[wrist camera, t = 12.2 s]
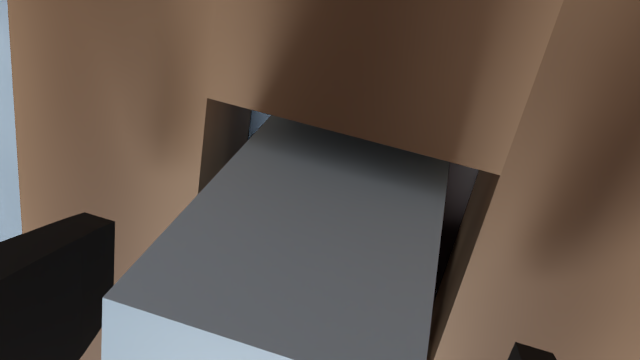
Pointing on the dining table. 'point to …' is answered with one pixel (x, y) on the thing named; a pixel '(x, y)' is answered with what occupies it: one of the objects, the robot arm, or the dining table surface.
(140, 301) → the peg
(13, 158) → the dining table surface
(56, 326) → the robot arm
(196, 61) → the socket block
